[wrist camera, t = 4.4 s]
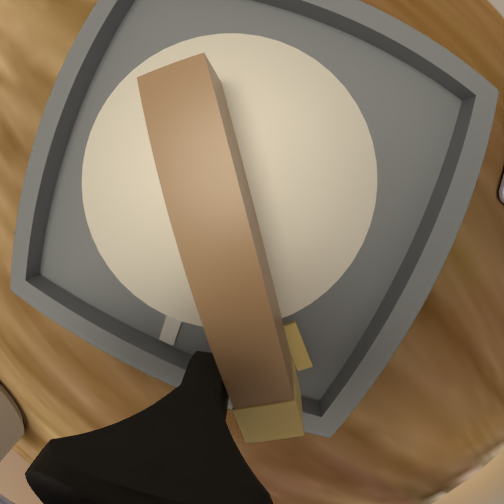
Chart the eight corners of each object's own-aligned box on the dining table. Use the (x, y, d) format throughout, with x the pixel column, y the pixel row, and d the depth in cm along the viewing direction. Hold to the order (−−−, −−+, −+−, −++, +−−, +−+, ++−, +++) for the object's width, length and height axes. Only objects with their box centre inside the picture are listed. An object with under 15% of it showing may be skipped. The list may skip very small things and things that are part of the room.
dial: (319, 33, 9) (338, -30, 5) (386, 340, 12) (424, 402, 8) (90, 106, 11) (22, 85, 6) (172, 380, 13) (140, 445, 9)
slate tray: (473, 99, 10) (498, 90, 8) (325, 410, 15) (330, 438, 12) (145, -23, 10) (129, -44, 8) (34, 278, 14) (10, 290, 12)
